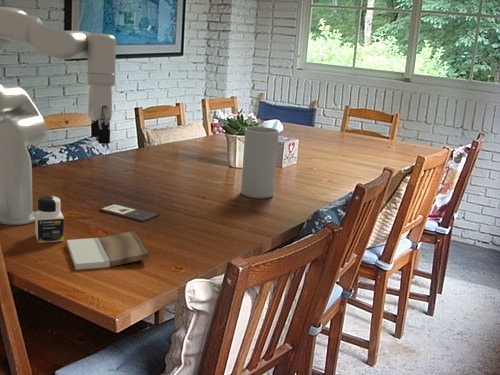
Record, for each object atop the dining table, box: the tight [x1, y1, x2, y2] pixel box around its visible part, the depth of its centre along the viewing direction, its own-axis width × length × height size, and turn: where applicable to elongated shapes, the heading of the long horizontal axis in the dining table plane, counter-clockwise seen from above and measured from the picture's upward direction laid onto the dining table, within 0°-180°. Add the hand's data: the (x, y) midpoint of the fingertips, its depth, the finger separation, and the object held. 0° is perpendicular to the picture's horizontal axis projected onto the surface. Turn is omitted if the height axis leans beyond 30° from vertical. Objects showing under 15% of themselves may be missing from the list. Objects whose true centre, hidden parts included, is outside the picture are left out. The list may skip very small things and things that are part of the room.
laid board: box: [66, 237, 111, 271], centre depth 173 cm, size 9×18×2 cm, turn 22°
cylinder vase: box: [240, 126, 280, 200], centre depth 241 cm, size 12×12×25 cm
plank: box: [98, 230, 150, 267], centre depth 176 cm, size 10×18×2 cm, turn 22°
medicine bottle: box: [34, 195, 65, 244], centre depth 182 cm, size 7×7×12 cm
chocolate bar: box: [98, 203, 161, 223], centre depth 211 cm, size 9×1×18 cm
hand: (100, 139), depth 183 cm, fingers open, 9 cm apart
